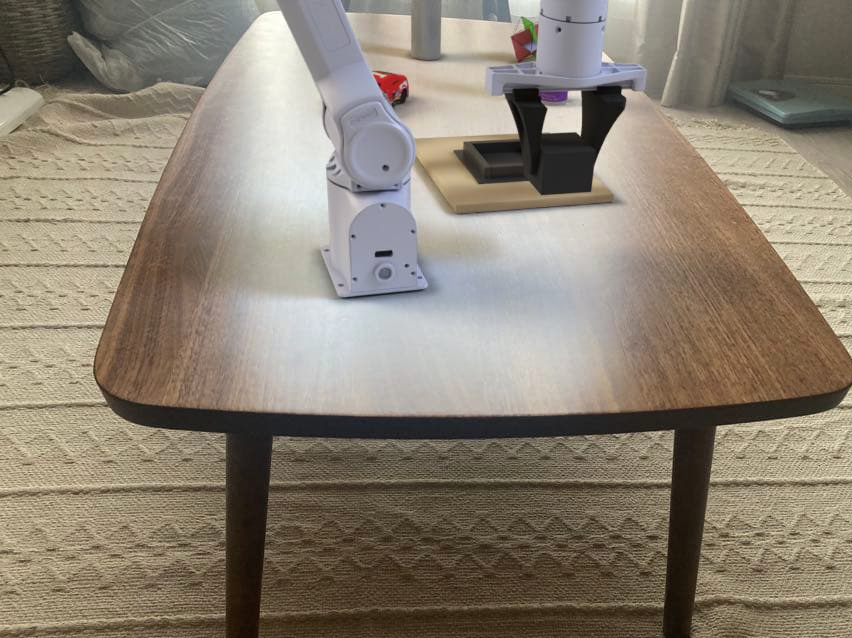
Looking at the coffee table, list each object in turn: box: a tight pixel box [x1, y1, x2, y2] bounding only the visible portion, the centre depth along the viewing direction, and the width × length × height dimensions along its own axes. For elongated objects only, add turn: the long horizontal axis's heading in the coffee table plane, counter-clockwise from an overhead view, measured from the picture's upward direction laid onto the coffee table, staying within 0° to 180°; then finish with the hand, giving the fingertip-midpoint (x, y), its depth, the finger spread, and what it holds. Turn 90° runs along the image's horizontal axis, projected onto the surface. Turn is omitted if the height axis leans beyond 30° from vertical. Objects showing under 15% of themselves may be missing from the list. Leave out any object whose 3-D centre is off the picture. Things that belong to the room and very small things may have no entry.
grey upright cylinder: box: [410, 0, 443, 61], centre depth 142 cm, size 4×4×10 cm
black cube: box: [524, 131, 596, 195], centre depth 86 cm, size 5×5×4 cm
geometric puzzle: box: [510, 15, 539, 63], centre depth 145 cm, size 7×7×8 cm
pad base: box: [414, 131, 614, 215], centre depth 107 cm, size 20×18×2 cm
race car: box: [371, 70, 410, 108], centre depth 122 cm, size 13×5×4 cm, turn 160°
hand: (558, 169), depth 87 cm, fingers closed on black cube, 5 cm apart
